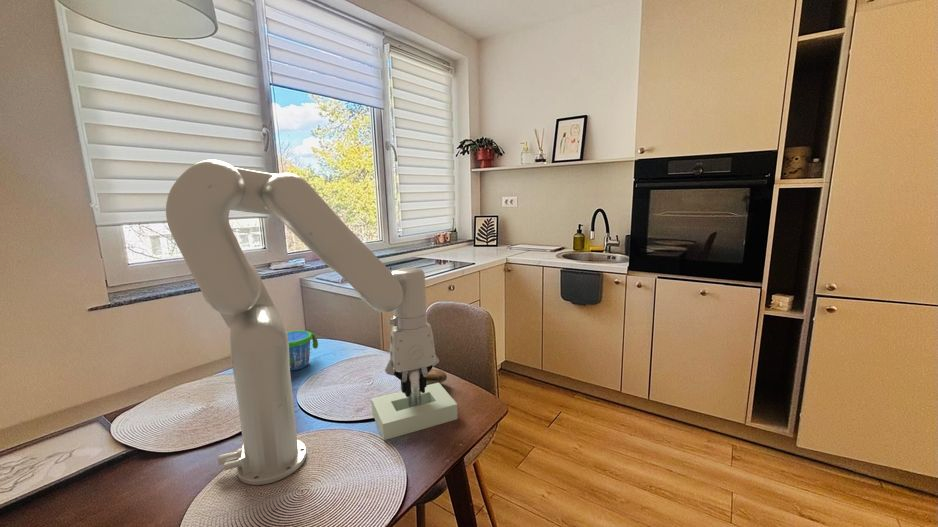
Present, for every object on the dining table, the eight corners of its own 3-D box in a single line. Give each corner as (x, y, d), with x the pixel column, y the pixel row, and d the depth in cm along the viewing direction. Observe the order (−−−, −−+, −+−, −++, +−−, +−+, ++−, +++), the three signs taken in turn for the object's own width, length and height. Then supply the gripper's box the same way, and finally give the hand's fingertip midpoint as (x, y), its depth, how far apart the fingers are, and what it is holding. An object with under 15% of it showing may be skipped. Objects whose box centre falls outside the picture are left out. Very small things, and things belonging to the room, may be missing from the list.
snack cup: (279, 380, 113) (276, 347, 111) (263, 370, 120) (260, 339, 118) (327, 362, 125) (325, 332, 123) (310, 354, 132) (308, 325, 130)
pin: (410, 408, 92) (408, 370, 90) (406, 402, 94) (404, 364, 93) (423, 405, 93) (421, 367, 91) (418, 399, 96) (417, 362, 94)
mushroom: (441, 388, 101) (436, 364, 104) (415, 396, 103) (411, 372, 106) (453, 389, 108) (448, 367, 111) (428, 396, 110) (424, 374, 113)
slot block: (383, 440, 85) (382, 424, 84) (372, 413, 96) (371, 398, 95) (457, 419, 93) (457, 404, 92) (439, 396, 103) (438, 382, 103)
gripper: (379, 331, 83) (384, 408, 86) (449, 319, 90) (451, 391, 93) (372, 321, 90) (377, 393, 93) (437, 311, 97) (439, 378, 100)
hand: (414, 391), depth 93 cm, fingers closed on pin, 3 cm apart
